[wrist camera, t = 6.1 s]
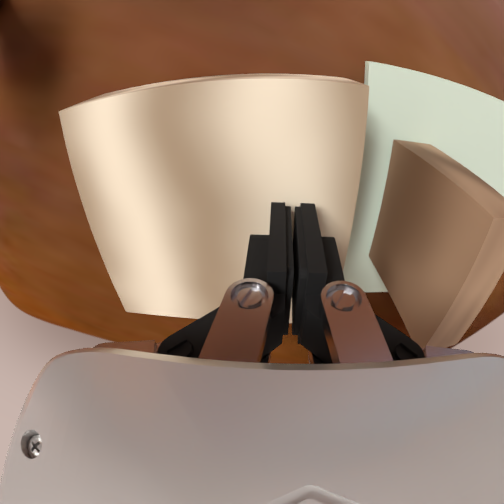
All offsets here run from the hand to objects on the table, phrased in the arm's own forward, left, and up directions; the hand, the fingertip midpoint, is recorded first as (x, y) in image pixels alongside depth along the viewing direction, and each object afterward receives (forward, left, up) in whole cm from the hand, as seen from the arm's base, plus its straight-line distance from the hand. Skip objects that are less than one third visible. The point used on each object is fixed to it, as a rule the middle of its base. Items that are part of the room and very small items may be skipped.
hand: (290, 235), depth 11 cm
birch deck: (+3, 0, -4) cm, 6 cm away
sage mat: (-10, 0, -5) cm, 11 cm away
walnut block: (-7, 0, 0) cm, 7 cm away
